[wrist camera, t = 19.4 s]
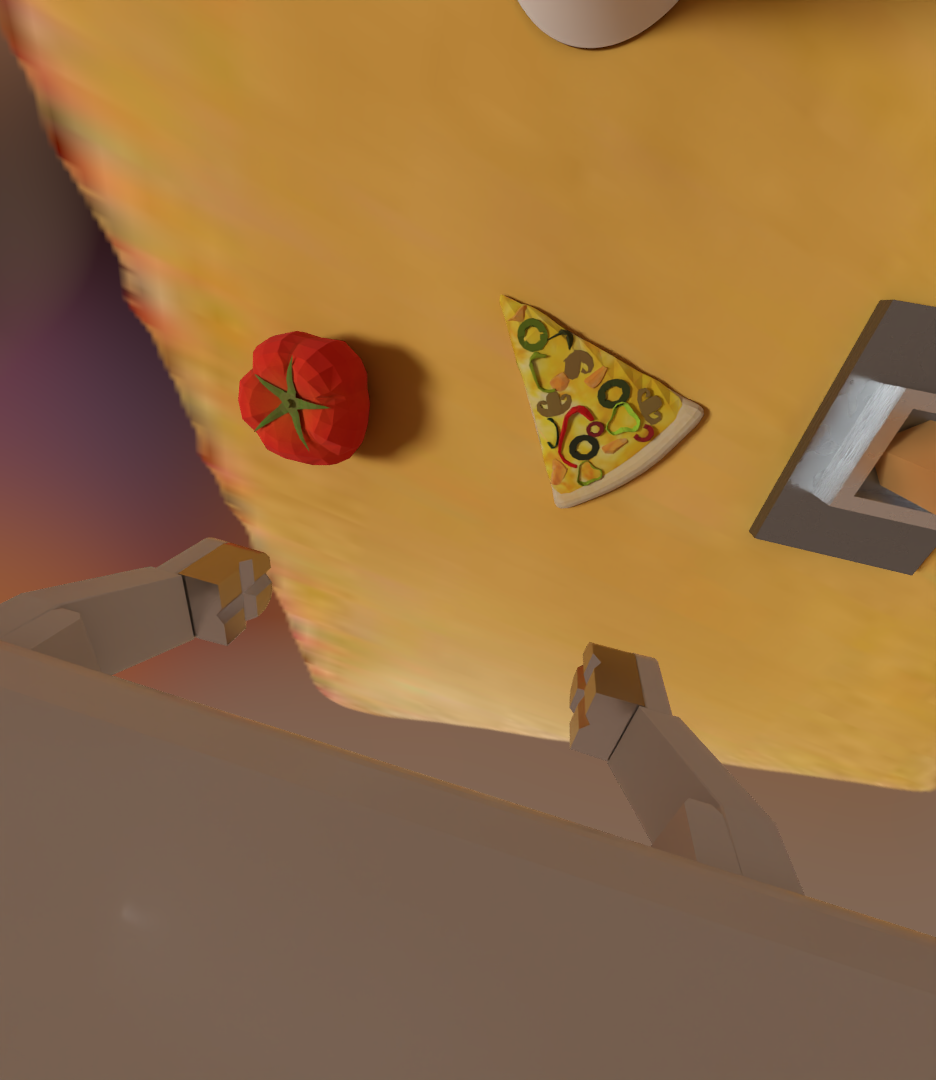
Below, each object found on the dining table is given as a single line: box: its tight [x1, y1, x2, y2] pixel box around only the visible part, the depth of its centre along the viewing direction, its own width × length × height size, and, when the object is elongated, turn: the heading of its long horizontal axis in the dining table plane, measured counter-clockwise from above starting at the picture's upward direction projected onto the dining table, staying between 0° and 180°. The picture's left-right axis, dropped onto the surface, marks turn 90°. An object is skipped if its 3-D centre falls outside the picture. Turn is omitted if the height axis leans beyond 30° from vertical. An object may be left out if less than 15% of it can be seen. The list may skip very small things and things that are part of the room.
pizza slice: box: [500, 295, 704, 508], centre depth 38 cm, size 16×21×3 cm
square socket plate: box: [749, 300, 936, 575], centre depth 34 cm, size 20×14×4 cm
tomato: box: [238, 331, 370, 465], centre depth 40 cm, size 13×12×8 cm
